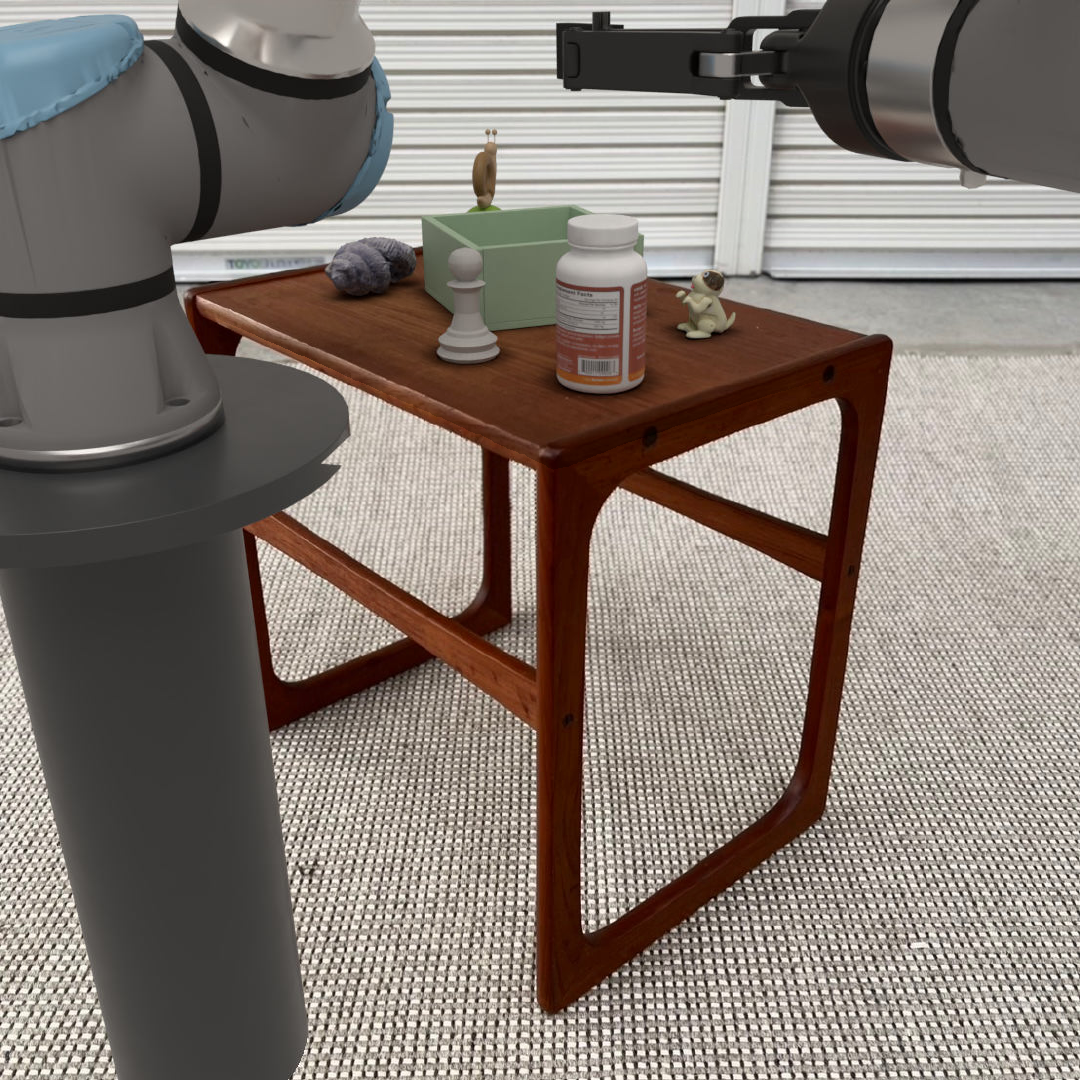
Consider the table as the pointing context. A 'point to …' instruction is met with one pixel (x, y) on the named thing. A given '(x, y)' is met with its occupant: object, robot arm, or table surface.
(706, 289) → the toy dog
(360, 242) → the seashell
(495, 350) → the chess piece
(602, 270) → the pill bottle
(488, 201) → the snail figurine
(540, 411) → the table surface
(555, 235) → the bin
